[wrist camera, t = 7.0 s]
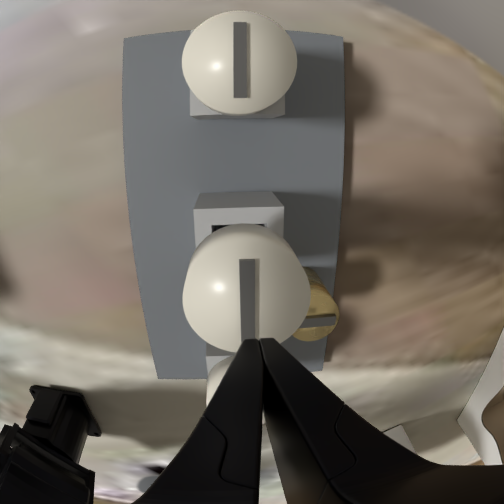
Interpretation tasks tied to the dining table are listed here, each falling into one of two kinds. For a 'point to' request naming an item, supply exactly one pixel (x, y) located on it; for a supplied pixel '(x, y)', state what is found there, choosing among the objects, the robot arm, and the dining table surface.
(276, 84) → the knob
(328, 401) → the robot arm
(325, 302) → the knob
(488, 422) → the gable box
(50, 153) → the dining table surface
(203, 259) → the knob mid
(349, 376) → the dining table surface
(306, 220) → the panel
